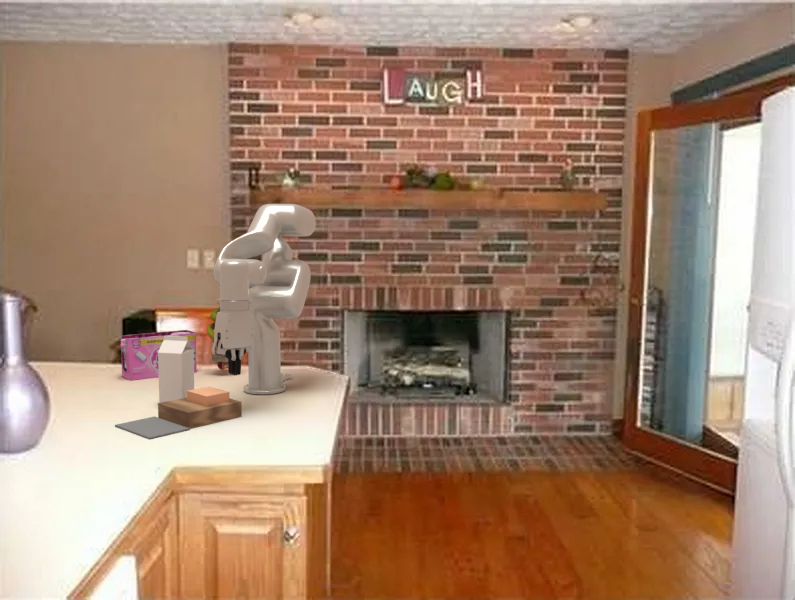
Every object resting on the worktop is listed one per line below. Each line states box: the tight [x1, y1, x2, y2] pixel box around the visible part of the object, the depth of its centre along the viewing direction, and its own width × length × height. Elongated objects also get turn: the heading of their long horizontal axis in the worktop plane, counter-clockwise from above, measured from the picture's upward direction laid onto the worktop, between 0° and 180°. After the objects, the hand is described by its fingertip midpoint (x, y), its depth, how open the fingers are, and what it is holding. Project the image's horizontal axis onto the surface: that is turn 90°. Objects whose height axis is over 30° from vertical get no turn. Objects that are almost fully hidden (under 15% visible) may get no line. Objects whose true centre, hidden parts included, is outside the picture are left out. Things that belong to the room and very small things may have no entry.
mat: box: [114, 416, 191, 440], centre depth 190 cm, size 11×16×1 cm
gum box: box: [120, 329, 197, 381], centre depth 251 cm, size 24×8×14 cm, turn 128°
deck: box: [157, 397, 243, 429], centre depth 200 cm, size 16×14×4 cm
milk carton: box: [158, 336, 195, 403], centre depth 214 cm, size 7×7×19 cm
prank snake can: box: [206, 298, 228, 370], centre depth 254 cm, size 12×10×25 cm
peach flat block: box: [187, 386, 230, 406], centre depth 202 cm, size 7×9×2 cm
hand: (234, 374), depth 207 cm, fingers closed
